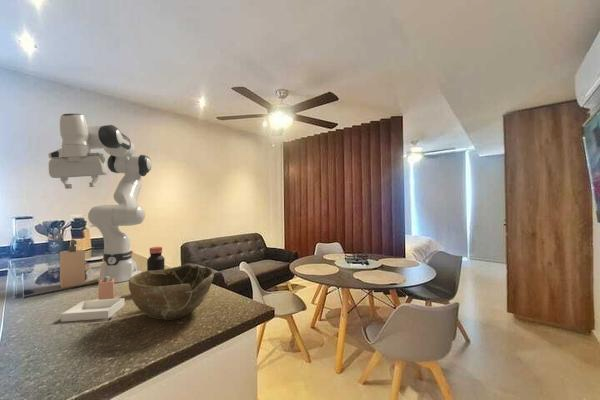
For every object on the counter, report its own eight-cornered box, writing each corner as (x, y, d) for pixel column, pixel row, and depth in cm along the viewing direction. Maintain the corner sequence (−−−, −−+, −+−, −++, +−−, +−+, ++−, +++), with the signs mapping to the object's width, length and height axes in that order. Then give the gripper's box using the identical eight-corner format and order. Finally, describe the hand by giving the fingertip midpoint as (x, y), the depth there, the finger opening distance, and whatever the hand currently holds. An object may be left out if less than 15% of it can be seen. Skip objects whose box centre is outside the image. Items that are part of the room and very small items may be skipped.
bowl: (230, 310, 99) (230, 269, 99) (161, 343, 76) (161, 290, 76) (183, 297, 113) (183, 261, 113) (112, 322, 90) (112, 277, 90)
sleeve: (100, 300, 108) (100, 280, 108) (114, 298, 110) (114, 278, 110) (98, 303, 104) (98, 283, 104) (112, 301, 106) (112, 281, 106)
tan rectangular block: (59, 284, 132) (59, 239, 133) (82, 280, 139) (82, 238, 139) (62, 290, 124) (63, 242, 124) (86, 285, 130) (86, 240, 130)
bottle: (167, 290, 122) (167, 246, 123) (158, 295, 116) (158, 249, 116) (153, 289, 123) (153, 246, 123) (143, 295, 116) (143, 248, 117)
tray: (83, 310, 100) (83, 300, 100) (124, 307, 103) (124, 298, 103) (60, 324, 88) (60, 314, 88) (108, 321, 91) (108, 310, 91)
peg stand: (94, 301, 109) (94, 275, 109) (121, 297, 113) (121, 272, 113) (90, 309, 101) (90, 281, 101) (118, 304, 105) (118, 278, 105)
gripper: (108, 153, 113) (112, 186, 113) (56, 156, 111) (60, 189, 112) (98, 150, 106) (102, 185, 107) (43, 154, 105) (47, 189, 105)
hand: (80, 187), depth 109 cm, fingers open, 8 cm apart
